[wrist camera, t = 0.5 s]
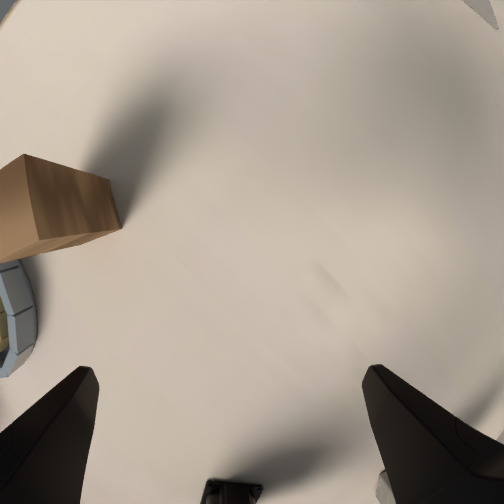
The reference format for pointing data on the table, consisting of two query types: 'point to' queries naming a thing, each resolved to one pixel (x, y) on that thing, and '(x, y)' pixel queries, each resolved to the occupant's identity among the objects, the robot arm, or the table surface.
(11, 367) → the grey round dish
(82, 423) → the robot arm
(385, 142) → the table surface
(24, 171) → the brown wooden block
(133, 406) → the table surface
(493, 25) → the tablet stand
